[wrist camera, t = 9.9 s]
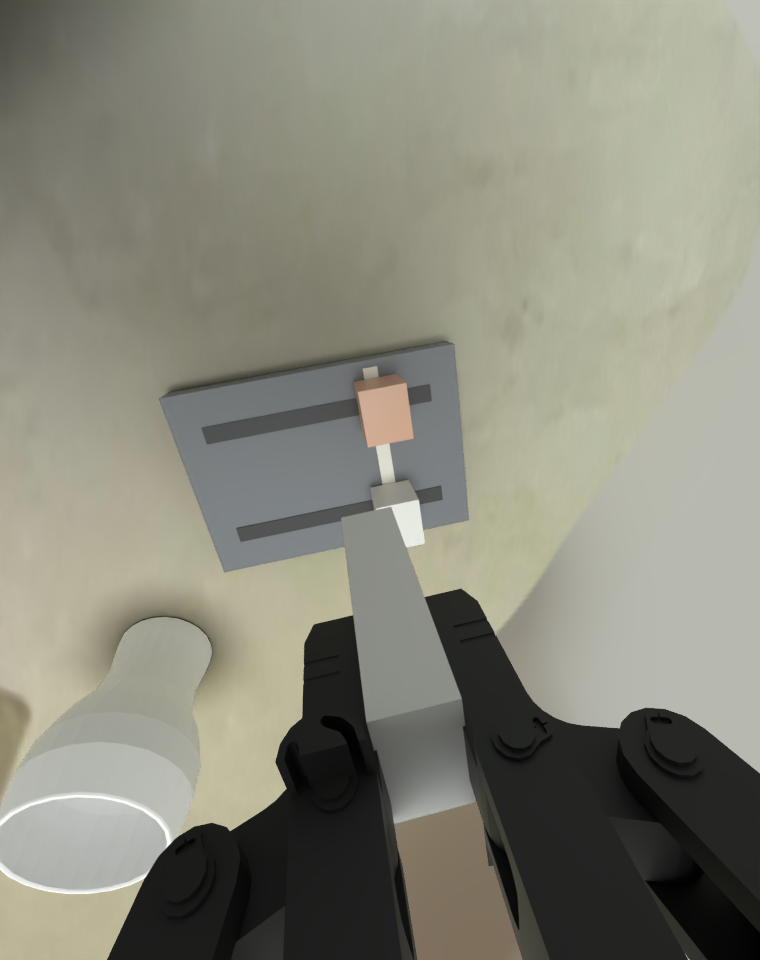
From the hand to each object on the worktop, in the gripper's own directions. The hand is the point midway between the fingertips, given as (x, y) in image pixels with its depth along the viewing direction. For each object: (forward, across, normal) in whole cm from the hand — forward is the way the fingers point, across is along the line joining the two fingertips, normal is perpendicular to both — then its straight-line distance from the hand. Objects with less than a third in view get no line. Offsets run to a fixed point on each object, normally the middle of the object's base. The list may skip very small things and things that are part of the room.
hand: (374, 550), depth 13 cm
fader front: (+18, +3, 0) cm, 18 cm away
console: (+20, -2, -4) cm, 21 cm away
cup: (+21, -20, -19) cm, 34 cm away
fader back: (+18, +2, -8) cm, 20 cm away
